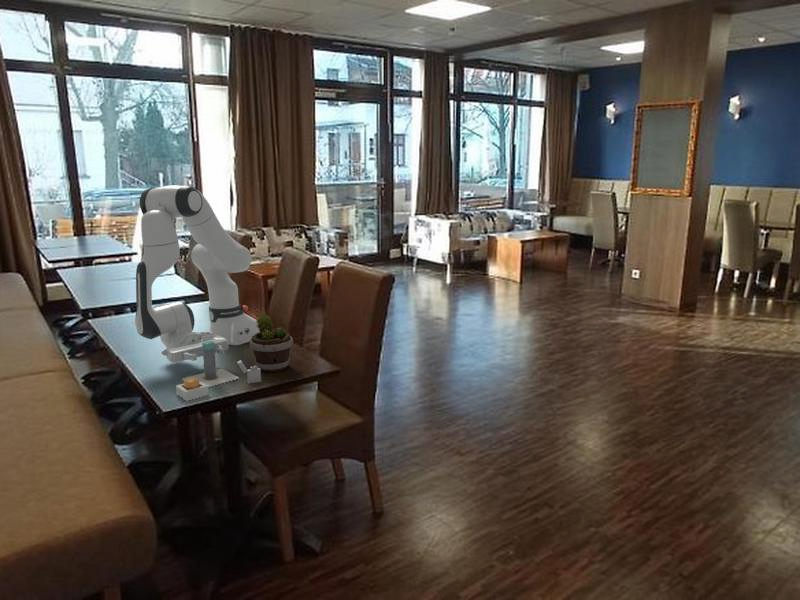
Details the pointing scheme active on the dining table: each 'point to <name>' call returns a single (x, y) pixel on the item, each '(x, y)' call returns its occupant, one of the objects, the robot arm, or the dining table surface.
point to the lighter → (251, 373)
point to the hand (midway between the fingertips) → (208, 354)
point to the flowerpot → (270, 346)
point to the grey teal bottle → (209, 360)
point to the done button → (191, 383)
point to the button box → (192, 391)
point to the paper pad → (220, 378)
